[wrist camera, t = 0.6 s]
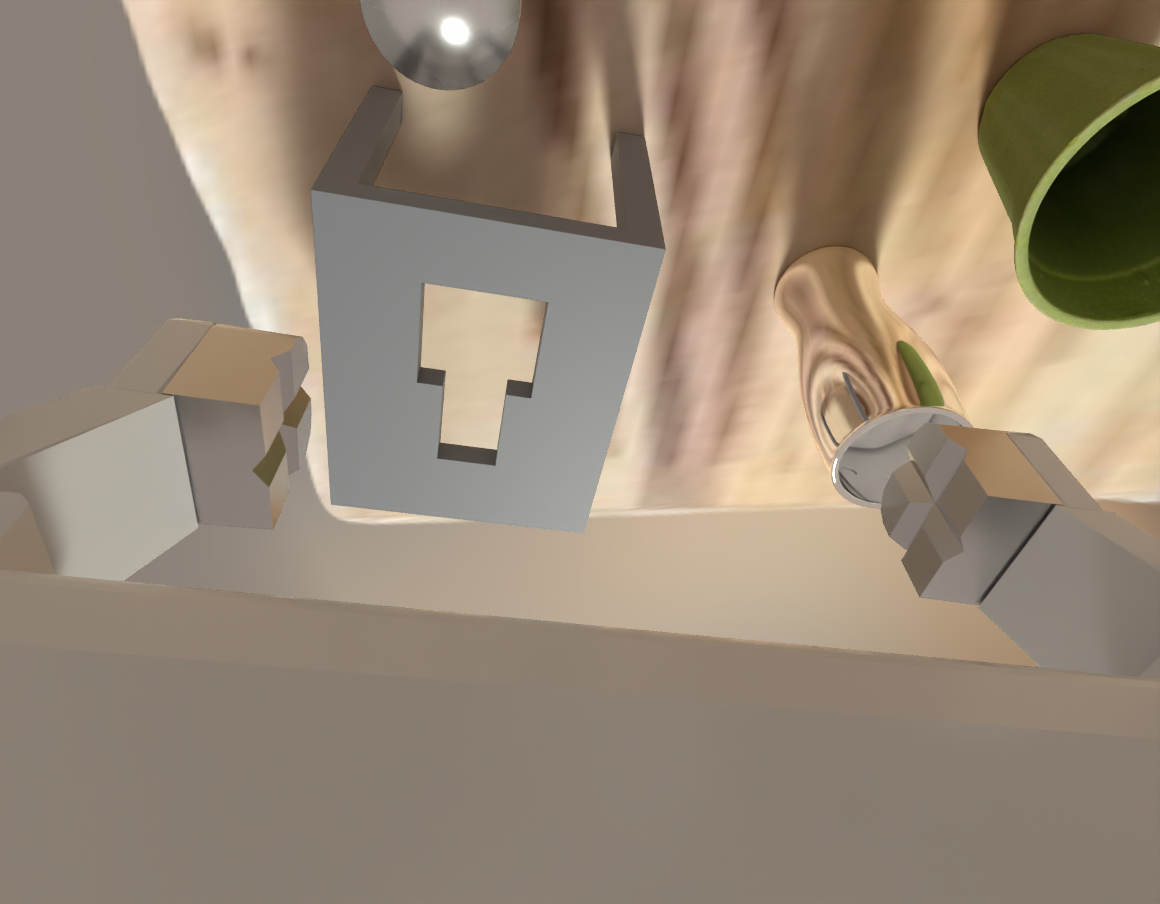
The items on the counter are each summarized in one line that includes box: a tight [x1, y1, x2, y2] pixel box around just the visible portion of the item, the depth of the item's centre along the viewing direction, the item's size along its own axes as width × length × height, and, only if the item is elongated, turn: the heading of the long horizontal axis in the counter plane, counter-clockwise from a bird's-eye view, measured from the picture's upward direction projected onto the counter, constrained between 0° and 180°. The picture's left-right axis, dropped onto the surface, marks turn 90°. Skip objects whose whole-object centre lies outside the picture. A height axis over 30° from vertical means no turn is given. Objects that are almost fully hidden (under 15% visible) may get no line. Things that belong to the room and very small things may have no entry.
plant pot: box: [978, 33, 1160, 330], centre depth 34 cm, size 12×12×11 cm
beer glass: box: [774, 246, 974, 509], centre depth 40 cm, size 7×7×15 cm
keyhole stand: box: [311, 86, 666, 533], centre depth 40 cm, size 18×14×12 cm
